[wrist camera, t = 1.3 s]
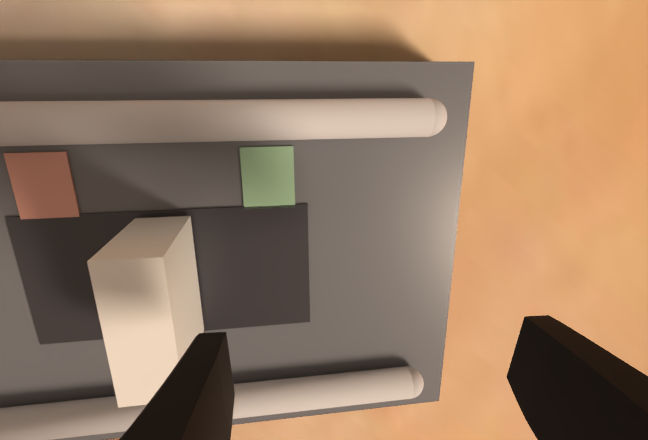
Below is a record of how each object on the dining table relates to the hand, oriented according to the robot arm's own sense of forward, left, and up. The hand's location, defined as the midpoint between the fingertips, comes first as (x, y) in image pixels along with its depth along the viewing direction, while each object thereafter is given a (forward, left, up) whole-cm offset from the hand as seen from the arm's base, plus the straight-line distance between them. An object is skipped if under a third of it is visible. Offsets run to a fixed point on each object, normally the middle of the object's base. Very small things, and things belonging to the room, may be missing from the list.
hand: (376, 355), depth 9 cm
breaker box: (-1, +6, -10) cm, 12 cm away
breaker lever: (-1, +7, -7) cm, 9 cm away
